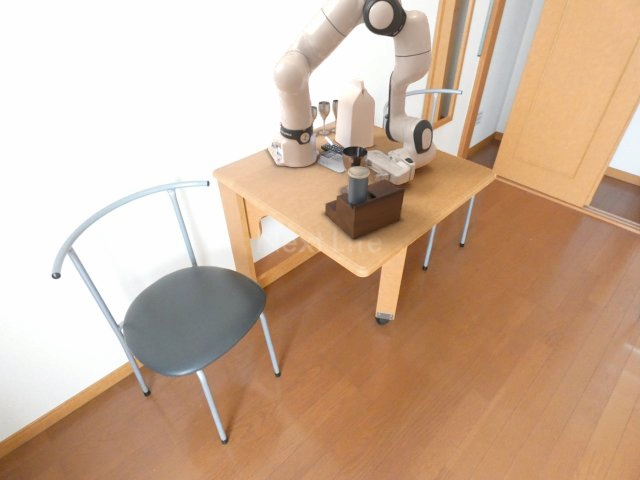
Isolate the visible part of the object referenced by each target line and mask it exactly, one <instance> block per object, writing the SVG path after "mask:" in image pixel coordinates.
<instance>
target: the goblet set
mask: <svg viewBox="0 0 640 480" xmlns="http://www.w3.org/2000/svg"><path fill="white" fill-rule="evenodd" d="M338 100H339V99H333V100H332V103H331V102H330V101H327V100H326V101H324V100H322V101H319V102H318V105H317V106H314V105H311V111H312V123H313V124H314V123H315V121H316V120H317V117H318V115H319V116H320V117H321V119H322V122H323V129H322V130H319V131H318V133H317V132H314V131H313V134H314V135H315V137H317V136H318V134H319V135H323V136H325V135H329V134H330V131H329V130H326V127H325V126H326V125H325V124H326V120H327V118H328V117H329V115H330V112H331V111H332V113H333V117H334V120H335V122H334V123H335V124H334V125H335V127H334V128H332V129H331V132H332V133H336V124H337V111H338Z"/></svg>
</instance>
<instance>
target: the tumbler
mask: <svg viewBox="0 0 640 480" xmlns="http://www.w3.org/2000/svg"><path fill="white" fill-rule="evenodd" d="M370 173H371V171H370V169H369V168H367V167H366V166H365V167H361V166H355V167H352V168H350V169H349V170H348V172H347V174H348V175H347V187H348V192H347V200H348V202H350V203H351V204H355V205H357V204H360V203H363V202H366V201H367V192H368V185H369V181H370Z"/></svg>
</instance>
